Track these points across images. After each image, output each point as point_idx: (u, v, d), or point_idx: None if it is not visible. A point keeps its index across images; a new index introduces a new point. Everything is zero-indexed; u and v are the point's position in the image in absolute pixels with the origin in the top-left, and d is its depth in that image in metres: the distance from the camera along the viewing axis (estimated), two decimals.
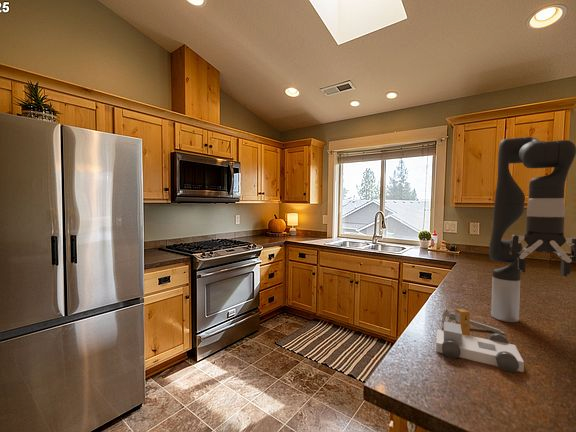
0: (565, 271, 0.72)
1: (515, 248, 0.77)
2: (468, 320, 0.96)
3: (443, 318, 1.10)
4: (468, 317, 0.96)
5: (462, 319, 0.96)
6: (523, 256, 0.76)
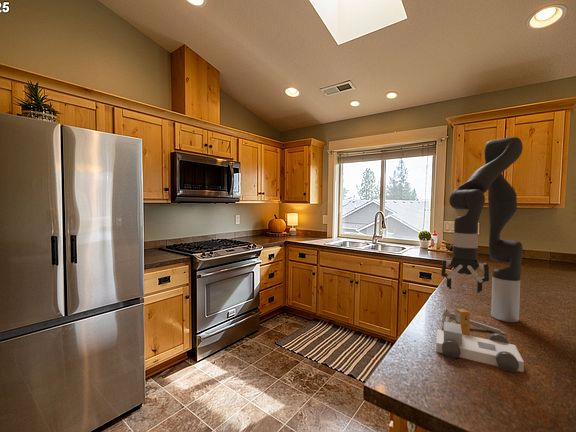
0: (478, 289, 0.94)
1: (444, 270, 0.99)
2: (468, 320, 0.96)
3: (443, 318, 1.10)
4: (468, 317, 0.96)
5: (462, 319, 0.96)
6: (449, 276, 0.98)
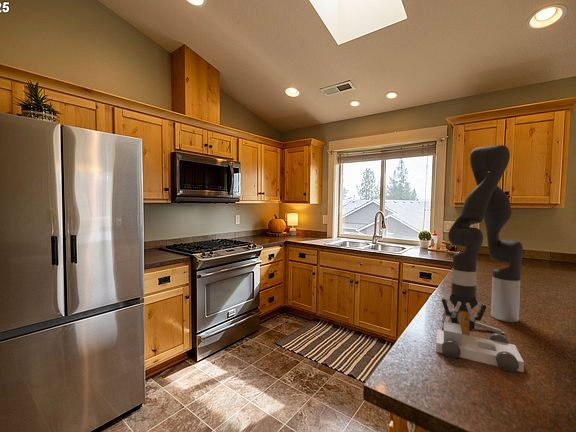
0: (470, 327, 0.96)
1: (446, 309, 0.99)
2: (468, 320, 0.96)
3: (443, 318, 1.10)
4: (468, 317, 0.96)
5: (462, 319, 0.96)
6: (454, 316, 0.98)
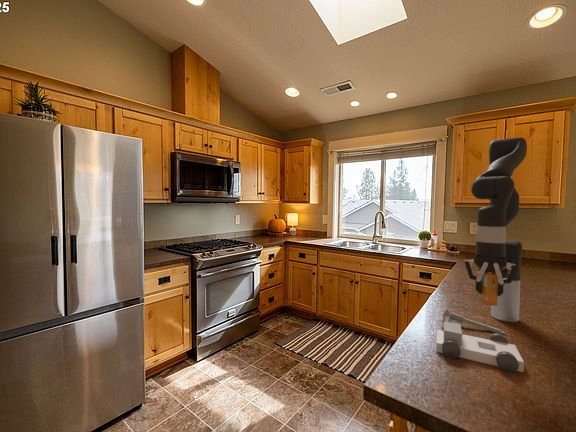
0: (499, 292, 0.84)
1: (470, 272, 0.87)
2: (496, 283, 0.84)
3: (443, 318, 1.10)
4: (496, 280, 0.84)
5: (489, 283, 0.84)
6: (479, 279, 0.86)
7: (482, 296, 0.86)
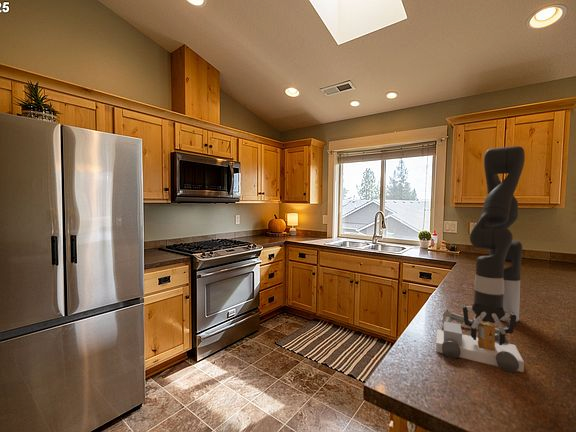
0: (500, 341, 0.84)
1: (466, 318, 0.88)
2: (493, 336, 0.85)
3: (444, 318, 1.10)
4: (493, 332, 0.85)
5: (486, 335, 0.85)
6: (474, 326, 0.87)
7: (479, 347, 0.87)
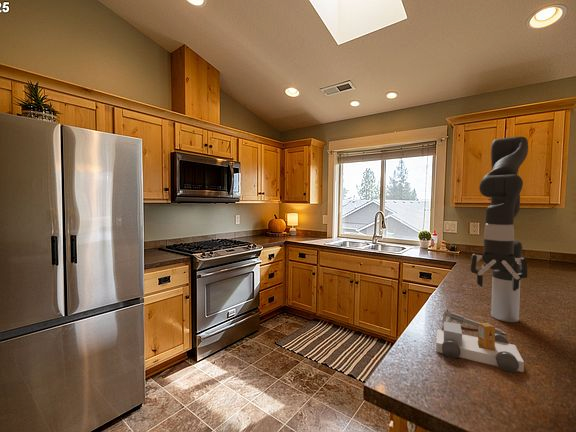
0: (514, 286, 0.84)
1: (474, 266, 0.89)
2: (493, 336, 0.85)
3: (444, 318, 1.10)
4: (493, 332, 0.85)
5: (486, 335, 0.85)
6: (480, 273, 0.88)
7: (479, 347, 0.87)
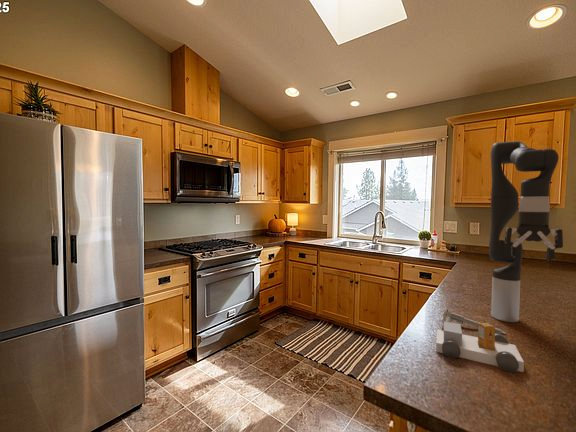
0: (550, 256, 0.87)
1: (509, 238, 0.92)
2: (493, 336, 0.85)
3: (444, 318, 1.10)
4: (493, 332, 0.85)
5: (486, 335, 0.85)
6: (515, 244, 0.91)
7: (479, 347, 0.87)
